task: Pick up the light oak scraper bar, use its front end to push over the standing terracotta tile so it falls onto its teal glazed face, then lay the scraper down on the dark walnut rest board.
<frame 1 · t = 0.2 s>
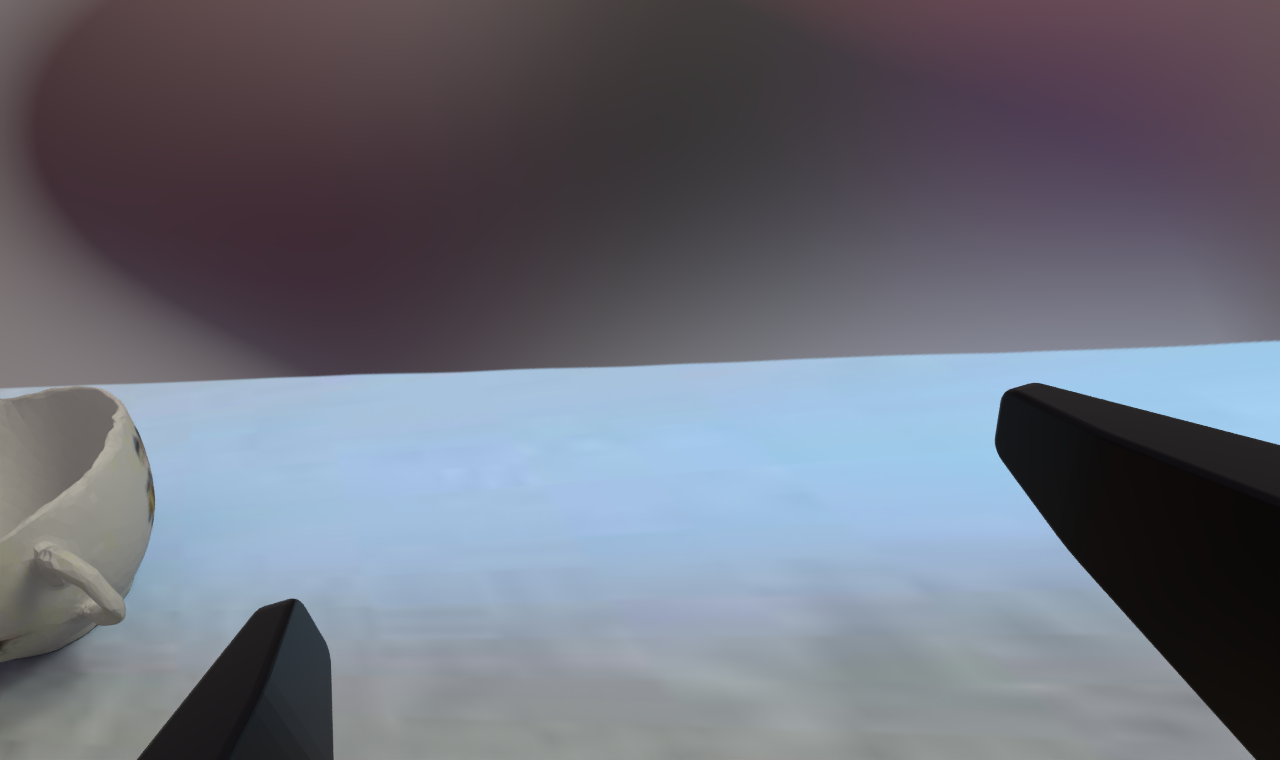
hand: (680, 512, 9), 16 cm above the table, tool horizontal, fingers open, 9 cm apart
floral ceramic bowl: (82, 618, 32), on the table
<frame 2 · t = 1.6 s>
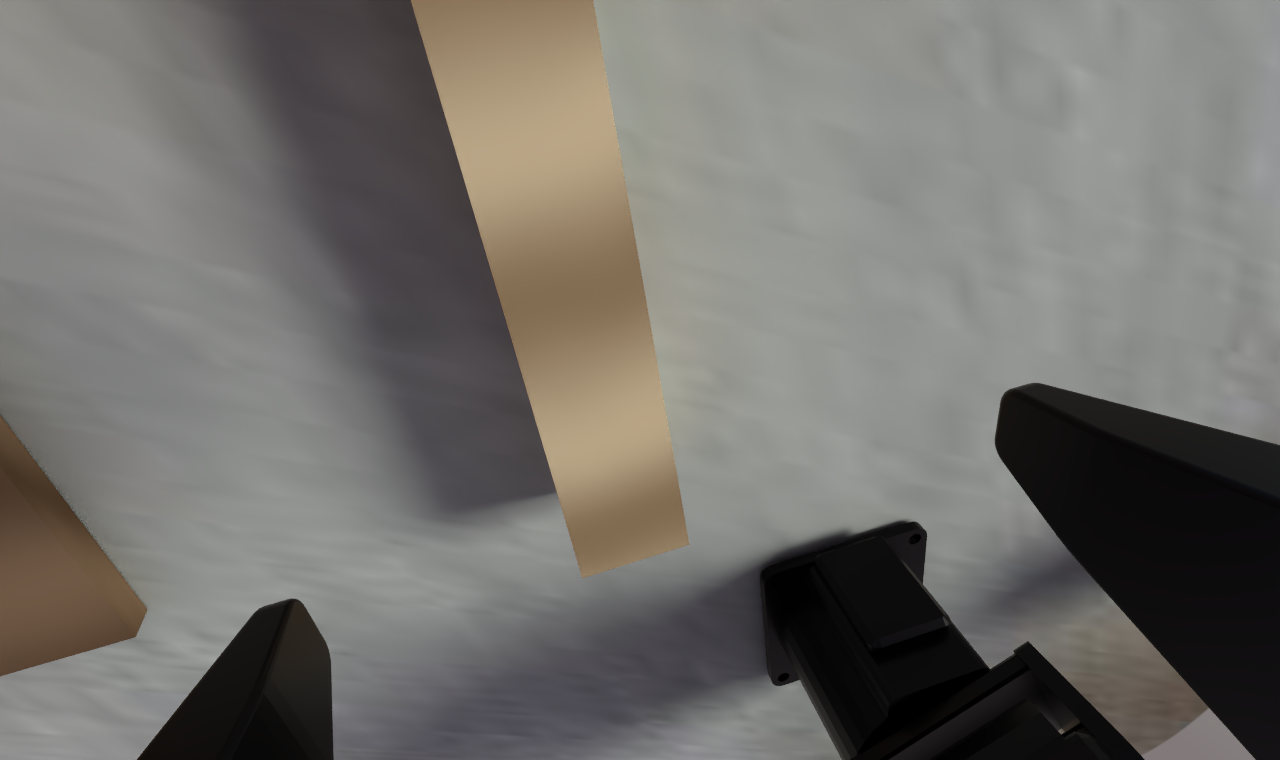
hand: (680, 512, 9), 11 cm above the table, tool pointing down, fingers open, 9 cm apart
oak scraper: (546, 234, 18), on the table
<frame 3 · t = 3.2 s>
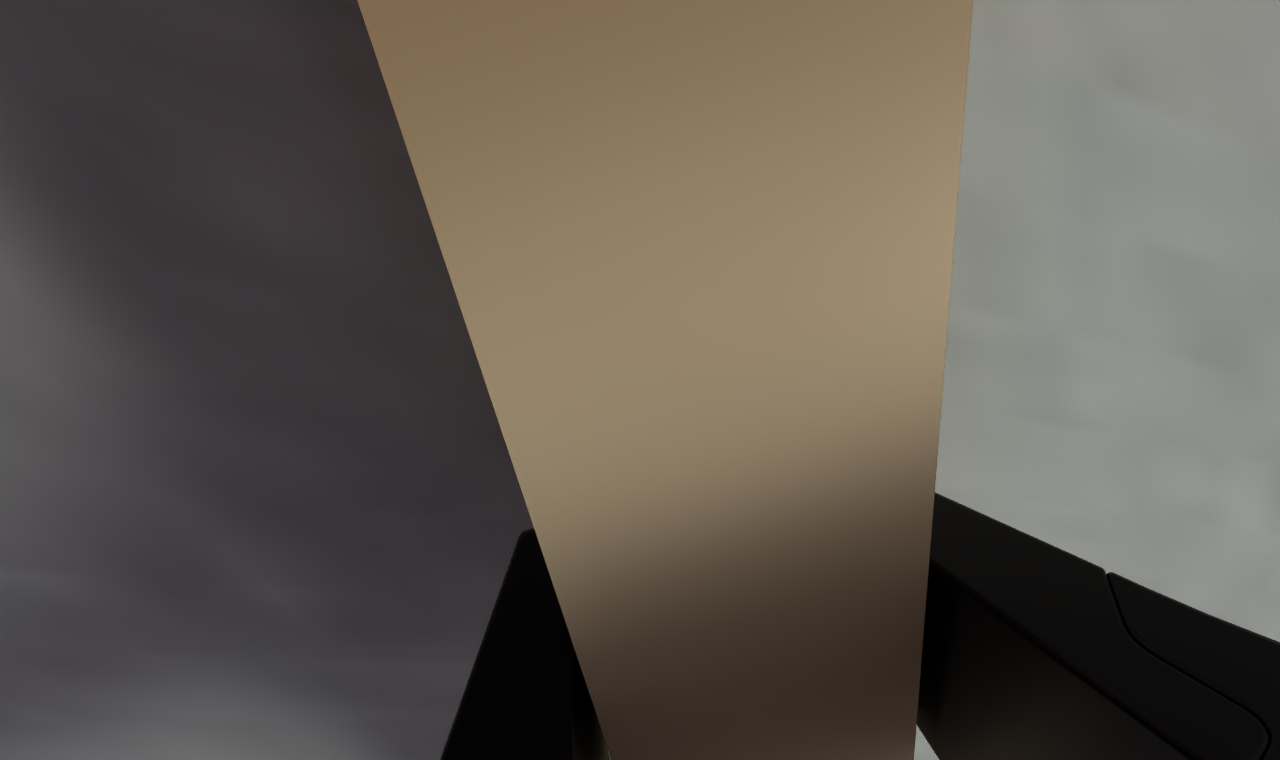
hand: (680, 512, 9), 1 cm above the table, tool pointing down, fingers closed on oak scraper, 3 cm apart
oak scraper: (653, 456, 10), on the table, touching gripper
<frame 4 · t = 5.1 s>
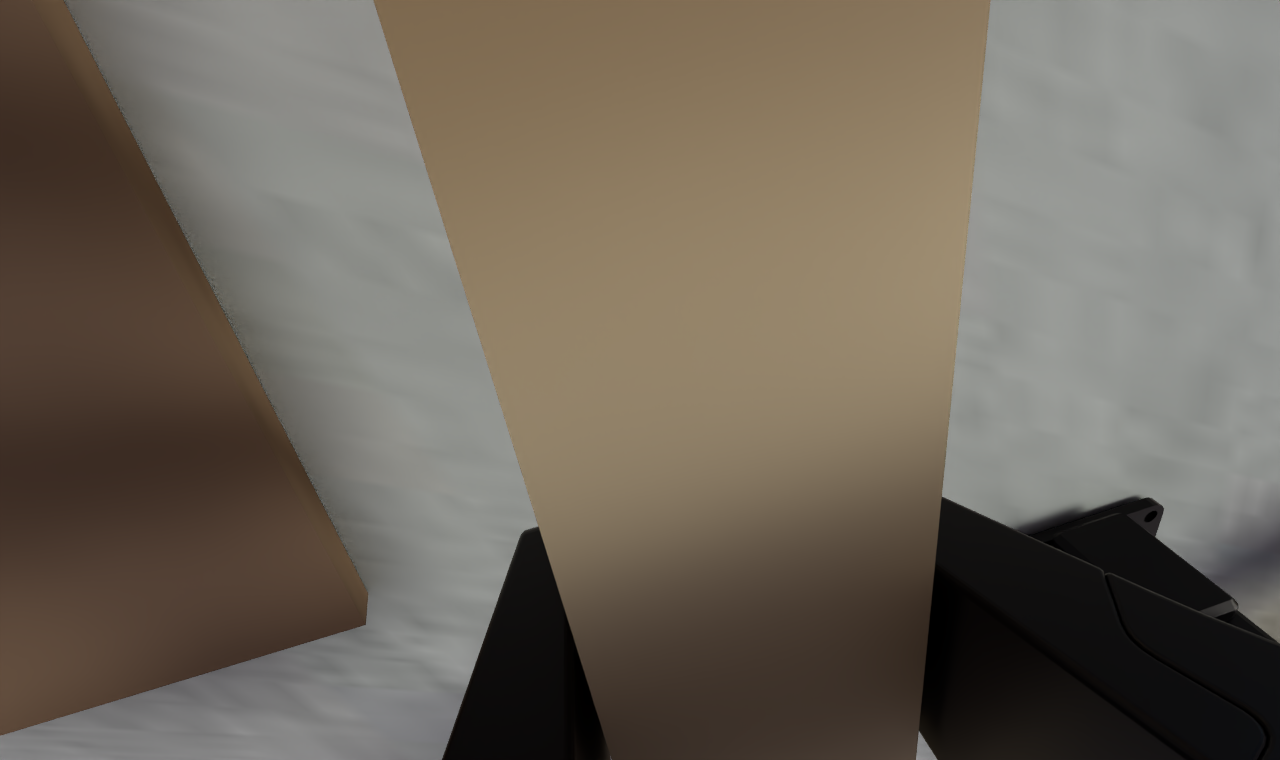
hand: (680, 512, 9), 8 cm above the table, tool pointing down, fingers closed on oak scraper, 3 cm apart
oak scraper: (654, 455, 10), point 7 cm above the table, touching gripper
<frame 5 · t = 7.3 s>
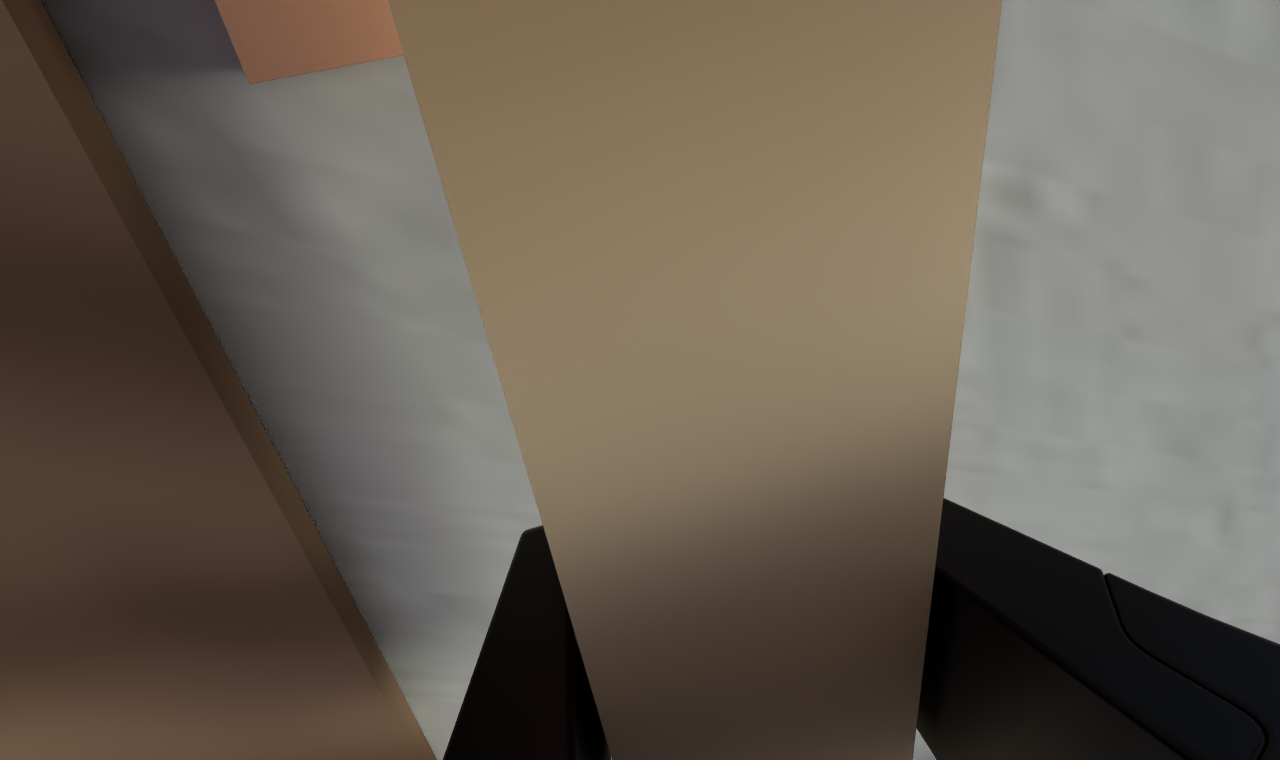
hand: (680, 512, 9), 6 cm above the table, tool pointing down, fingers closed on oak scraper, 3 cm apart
oak scraper: (653, 456, 10), point 5 cm above the table, touching gripper
rest board: (102, 615, 14), on the table
glazed tile: (540, 22, 11), point 1 cm above the table, tilted 90°
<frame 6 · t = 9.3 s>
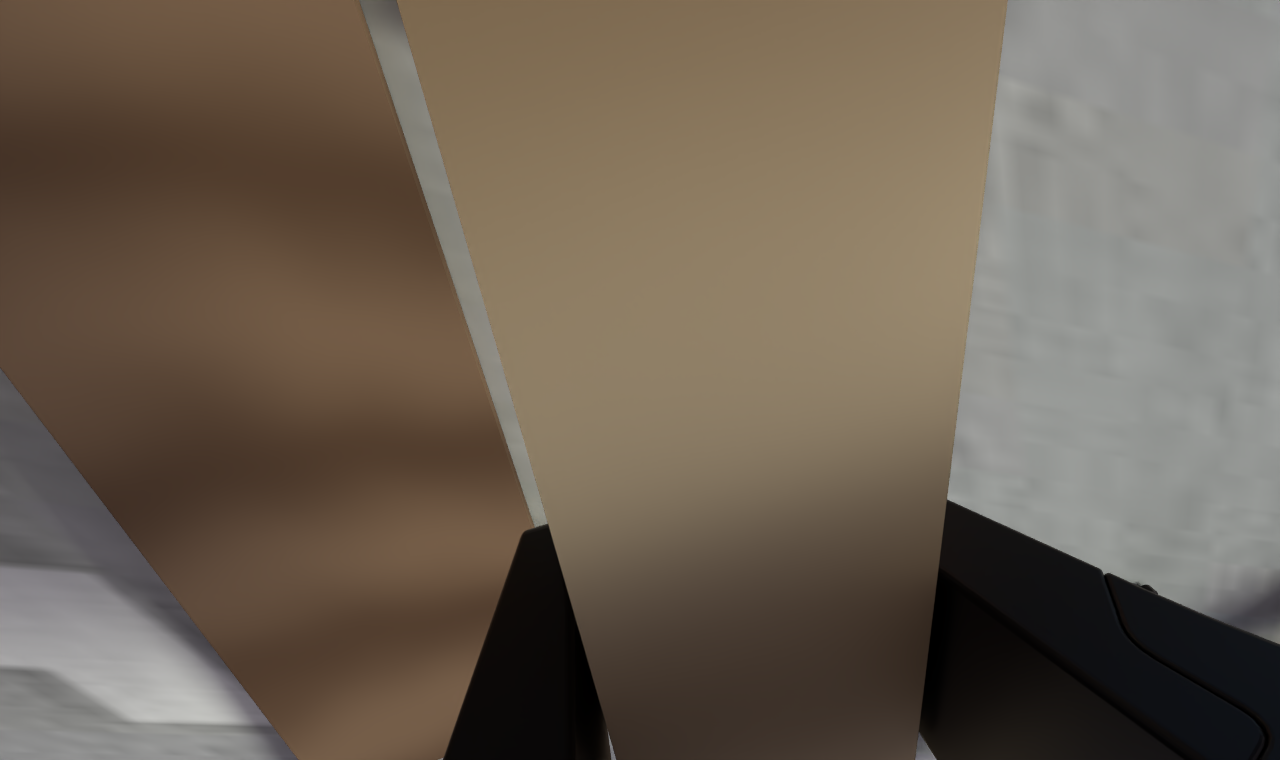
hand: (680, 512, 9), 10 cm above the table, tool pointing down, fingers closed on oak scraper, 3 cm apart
oak scraper: (655, 452, 10), point 9 cm above the table, touching gripper
rest board: (324, 457, 18), on the table
when the fingers open (3 cm above the table, at t = 11.3 s): oak scraper stays where it is, resting on rest board.
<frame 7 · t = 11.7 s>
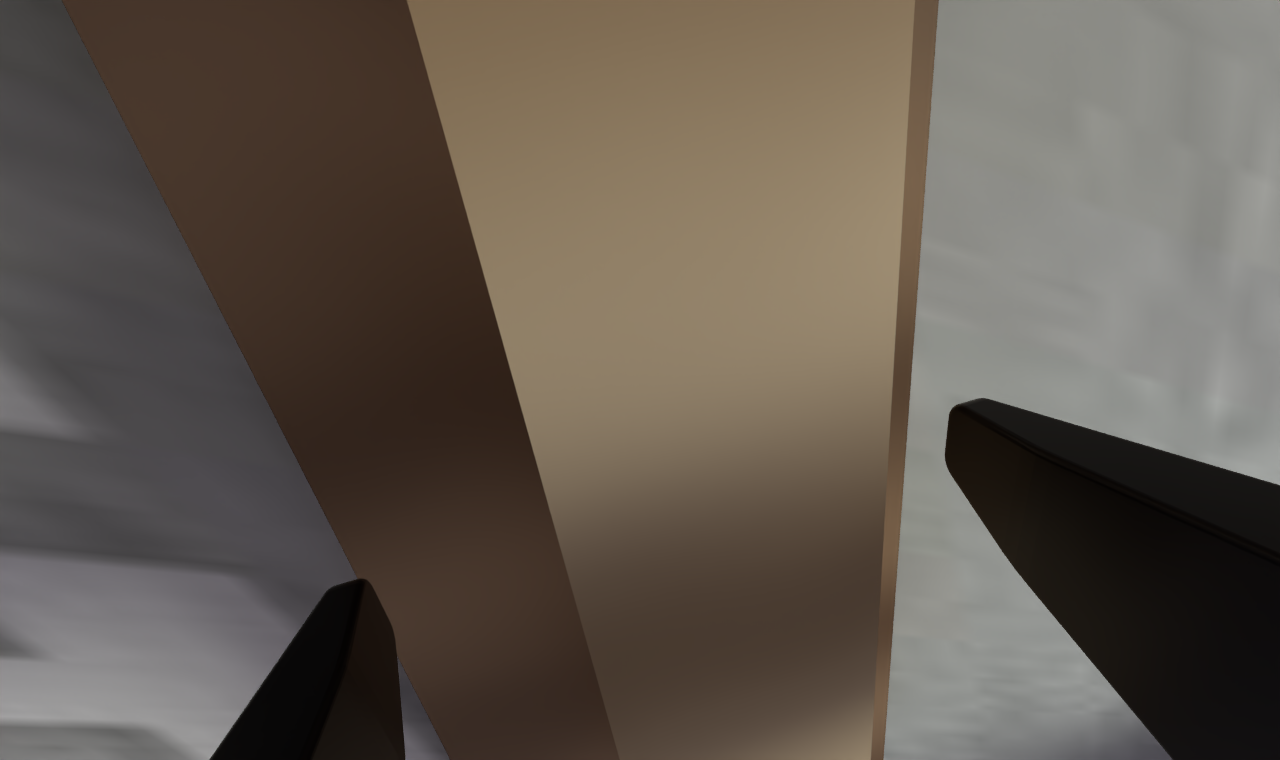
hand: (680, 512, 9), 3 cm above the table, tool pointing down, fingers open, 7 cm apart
oak scraper: (640, 420, 10), point 1 cm above the table, touching rest board
rest board: (620, 390, 11), on the table
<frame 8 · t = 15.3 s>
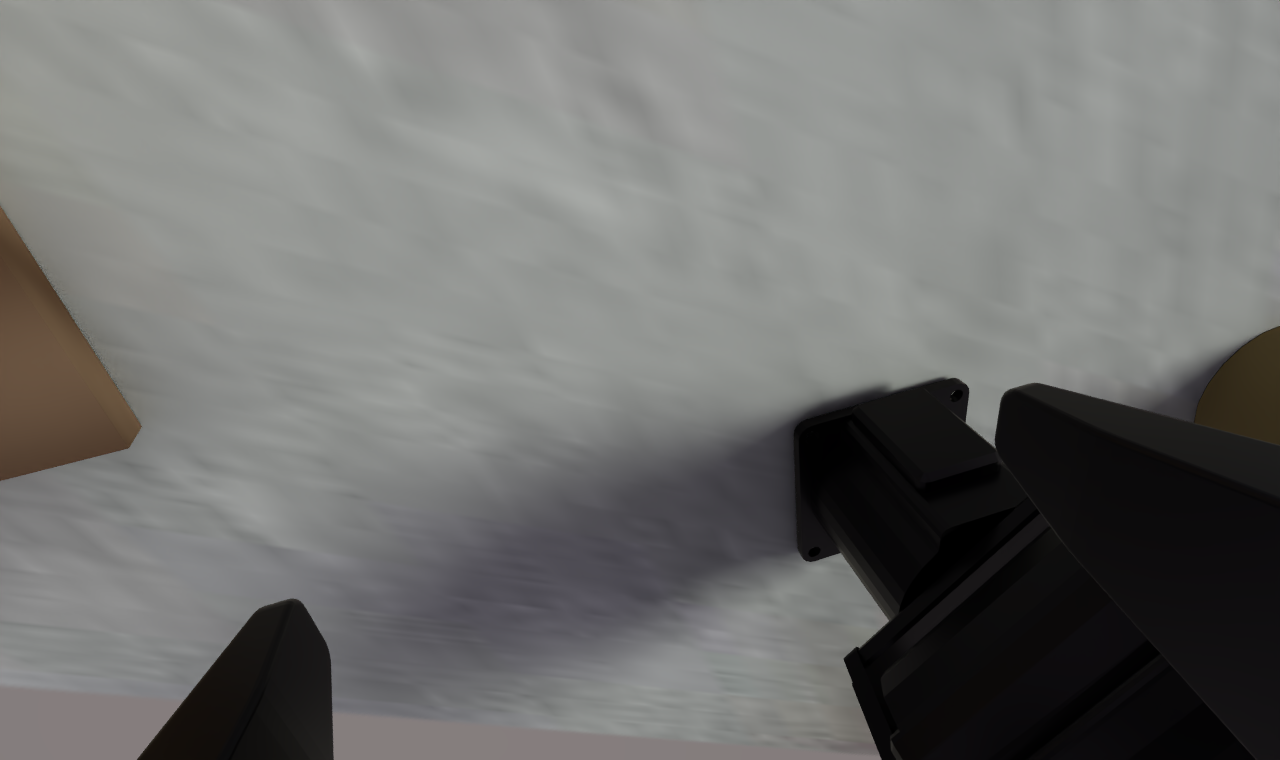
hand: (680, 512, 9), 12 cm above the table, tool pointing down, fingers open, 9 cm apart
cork: (1252, 385, 30), on the table
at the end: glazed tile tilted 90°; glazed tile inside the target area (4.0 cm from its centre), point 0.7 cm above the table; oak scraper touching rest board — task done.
